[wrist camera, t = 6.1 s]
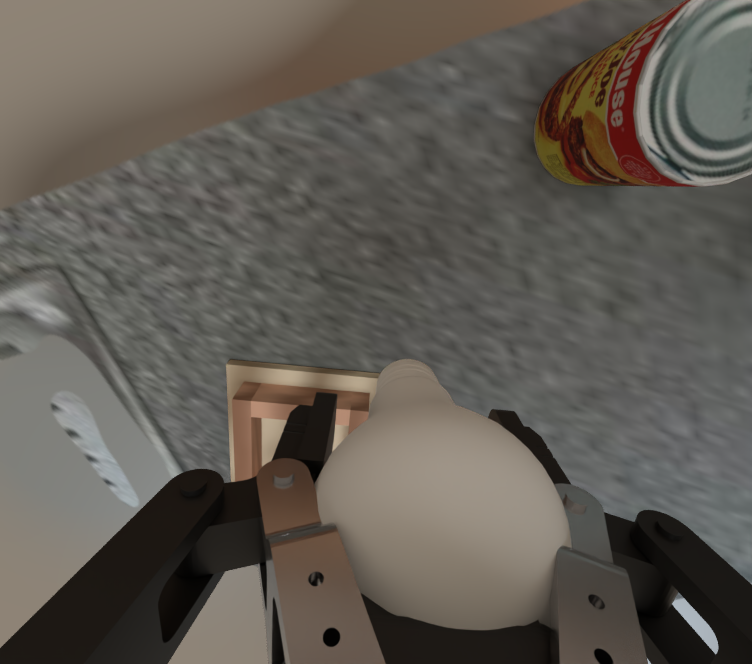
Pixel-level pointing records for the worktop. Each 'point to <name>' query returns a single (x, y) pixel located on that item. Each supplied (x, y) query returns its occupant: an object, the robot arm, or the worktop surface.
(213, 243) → the worktop surface
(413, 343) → the worktop surface
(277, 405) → the socket stand
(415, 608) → the lightbulb
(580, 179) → the canned food
